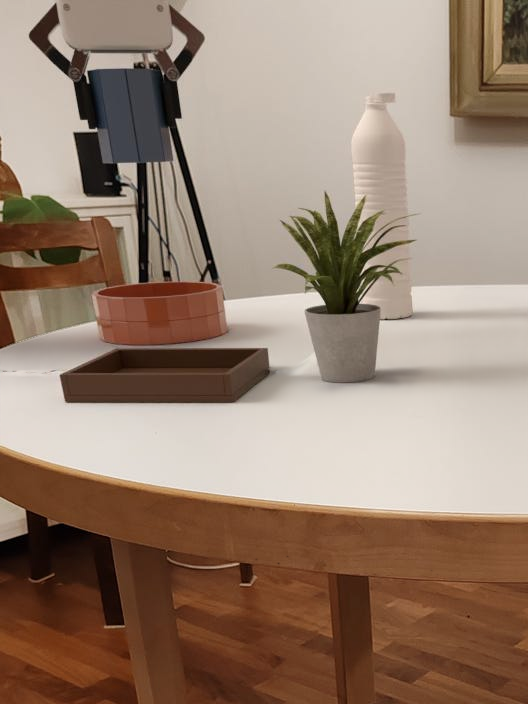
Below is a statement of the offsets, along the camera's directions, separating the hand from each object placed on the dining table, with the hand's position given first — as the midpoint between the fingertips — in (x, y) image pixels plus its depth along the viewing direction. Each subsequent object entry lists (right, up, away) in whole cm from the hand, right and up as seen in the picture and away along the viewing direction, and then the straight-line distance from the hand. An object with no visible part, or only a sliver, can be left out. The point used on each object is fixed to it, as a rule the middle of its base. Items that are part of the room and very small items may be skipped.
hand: (132, 126), depth 98 cm
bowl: (-2, -16, +17) cm, 23 cm away
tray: (+6, -27, -6) cm, 29 cm away
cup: (0, -3, +1) cm, 3 cm away
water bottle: (+23, -10, +28) cm, 38 cm away
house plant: (+22, -27, -5) cm, 35 cm away
